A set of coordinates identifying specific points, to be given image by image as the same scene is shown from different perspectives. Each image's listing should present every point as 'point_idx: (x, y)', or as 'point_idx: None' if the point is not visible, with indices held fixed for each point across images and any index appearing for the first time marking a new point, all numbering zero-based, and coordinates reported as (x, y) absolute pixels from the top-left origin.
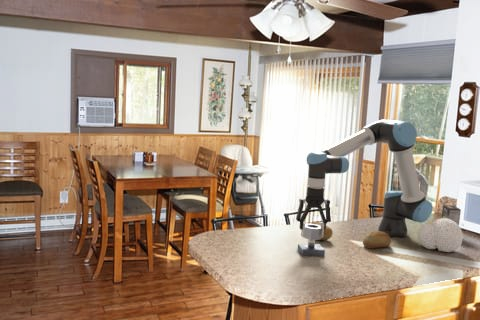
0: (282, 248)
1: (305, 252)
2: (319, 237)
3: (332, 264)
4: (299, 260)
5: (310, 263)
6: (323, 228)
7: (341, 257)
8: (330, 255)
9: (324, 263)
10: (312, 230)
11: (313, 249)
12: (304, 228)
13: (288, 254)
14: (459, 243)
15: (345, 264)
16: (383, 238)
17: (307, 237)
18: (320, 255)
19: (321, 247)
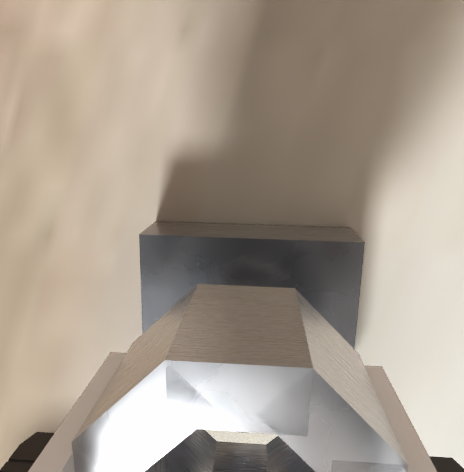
0: (453, 423)
1: (332, 235)
2: (169, 314)
3: (139, 20)
4: (415, 128)
5: (339, 46)
6: (59, 435)
7: (12, 203)
8: (94, 252)
9: (206, 47)
10: (291, 348)
11: (249, 257)
12: (404, 452)
13: (458, 283)
14: None
15: (20, 21)
16: None
17: (332, 331)
18: (189, 224)
19: (150, 313)
